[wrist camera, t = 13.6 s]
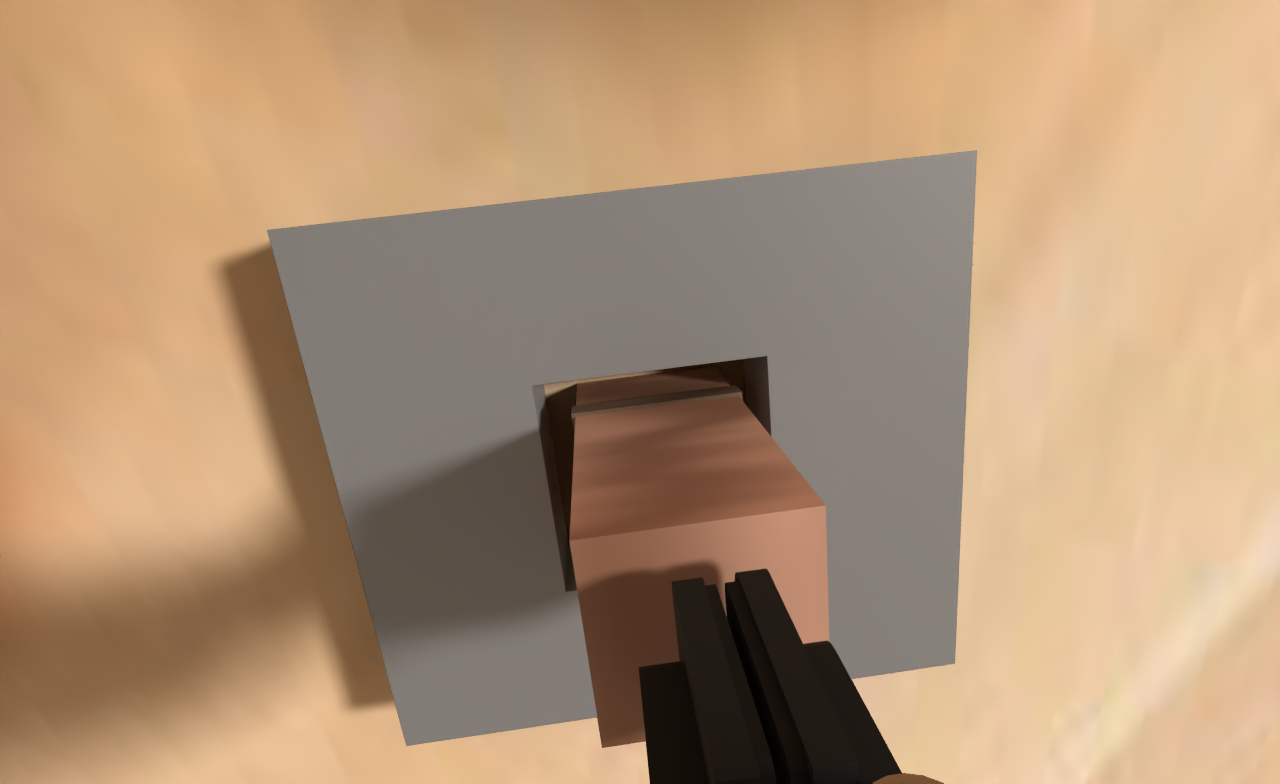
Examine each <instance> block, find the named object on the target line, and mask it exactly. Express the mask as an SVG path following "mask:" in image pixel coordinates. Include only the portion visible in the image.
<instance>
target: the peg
mask: <svg viewBox="0 0 1280 784" xmlns="http://www.w3.org/2000/svg"><path fill="white" fill-rule="evenodd" d="M571 415H572V422H573V429H574V435H575V437H574V458H573V478H572V498H571V518H570V539H569V541H570V548H571V554H572V560H573V567H574V573H575V579H576V586H577V592H578V598H579V605H580V611H581V617H582V624H583V630H584V636H585V643H586V649H587V655H588V662H589V668H590V674H591V680H592V687H593V693H594V699H595V706H596V712H597V718H598V725H599V731H600V737H601V744H602V748H605V747H611V746H618V745H624V744H631V743H637V742H644V741H646V737H645V727H644V717H643V707H642V697H641V687H640V677H639V667H643V666H650V665H657V664H664V663H671V662H678V661H680V659H679V650H678V641H677V631H676V622H675V613H674V603H673V594H672V581H677V580H685V579H692V578H699V577H702V578H703V580H704V583H705V585H712V584H716V586H717V589H718V592H719V595H720V598H721V601H722V604H723V607H724V610H725V613H726V601H725V583H726V582H734V581H735V573H736V572H743V571H751V570H758V569H765V568H766V569H767V570H768V571H769V573H770V575H771V577H772V579H773V581H774V583H775V586H776V588H777V590H778V592H779V594H780V596H781V598H782V600H783V602H784V605H785V607H786V609H787V611H788V613H789V615H790V617H791V619H792V621H793V624H794V626H795V628H796V630H797V632H798V634H799V636H800V638H801V640H802V643H803V644H806V643H813V642H820V641H829V609H828V570H827V531H826V505H825V504H824V503H823V501H822V500H821V499H820V498H819V496H818V495H817V494H816V492H815V491H814V490H813V489H812V487H811V486H810V485H809V484H808V482H807V481H806V480H805V479H804V477H803V476H802V475H801V474H800V472H799V471H798V470H797V469H796V467H795V466H794V465H793V464H792V462H791V461H790V460H789V458H788V457H787V456H786V455H785V453H784V452H783V451H782V450H781V448H780V447H779V446H778V445H777V443H776V442H775V441H774V440H773V438H772V437H771V436H770V435H769V433H768V432H767V431H766V430H765V428H764V427H763V426H762V425H761V423H760V422H759V421H758V419H757V418H756V417H755V416H754V414H753V413H752V412H751V411H750V409H749V408H748V407H747V406H746V404H745V403H744V402H743V398H742V391H741V390H740V389H739V388H738V386H737V385H733V386H730V384H729V383H728V382H727V380H726V379H725V378H724V377H723V375H722V374H721V373H720V372H719V370H718V369H717V368H716V367H715V366H712V367H704V368H697V369H689V370H681V371H673V372H665V373H657V374H649V375H641V376H633V377H625V378H617V379H610V380H602V381H594V382H586V383H578V384H577V397H576V406H572V411H571ZM726 616H727V614H726Z"/></svg>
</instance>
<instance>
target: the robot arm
mask: <svg viewBox="0 0 1280 784" xmlns="http://www.w3.org/2000/svg"><path fill="white" fill-rule="evenodd" d="M672 594H673V603H674V613H675V622H676V631H677V641H678V650H679V659H680V661H678V662H671V663H664V664H657V665H650V666H643V667H639V677H640V687H641V697H642V707H643V717H644V727H645V737H646V747H647V757H648V767H649V777H650V784H944V783H942V782H939V781H937V780H934V779H931V778H929V777H926V776H923V775H915V774H907V773H902V772H901V770H900V769H899V767H898V765H897V763H896V761H895V759H894V757H893V756H892V754H891V752H890V750H889V748H888V746H887V744H886V743H885V741H884V739H883V737H882V735H881V733H880V732H879V730H878V728H877V726H876V724H875V722H874V720H873V719H872V717H871V715H870V713H869V711H868V709H867V707H866V706H865V704H864V702H863V700H862V698H861V696H860V694H859V693H858V691H857V689H856V687H855V685H854V683H853V681H852V680H851V678H850V676H849V674H848V672H847V670H846V668H845V667H844V665H843V663H842V661H841V659H840V657H839V655H838V654H837V652H836V650H835V648H834V647H833V645H832V644H831V643H830V642H829V641H820V642H813V643H806V644H803V643H802V640H801V638H800V636H799V634H798V632H797V630H796V628H795V626H794V624H793V621H792V619H791V617H790V615H789V613H788V611H787V609H786V607H785V605H784V602H783V600H782V598H781V596H780V594H779V592H778V590H777V588H776V586H775V583H774V581H773V579H772V577H771V575H770V573H769V571H768V570H767V569H766V568H765V569H758V570H751V571H743V572H736V573H735V581H734V582H726V583H725V601H726V613H725V610H724V607H723V604H722V601H721V598H720V595H719V592H718V589H717V586H716V584H712V585H705V583H704V580H703V578H702V577H699V578H692V579H685V580H677V581H672ZM726 614H727V616H726Z"/></svg>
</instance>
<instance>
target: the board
mask: <svg viewBox="0 0 1280 784" xmlns="http://www.w3.org/2000/svg"><path fill="white" fill-rule="evenodd" d="M976 161H977V150H976V151H967V152H958V153H949V154H940V155H931V156H922V157H914V158H905V159H896V160H887V161H878V162H869V163H860V164H851V165H842V166H833V167H824V168H816V169H807V170H798V171H789V172H780V173H771V174H762V175H753V176H744V177H735V178H726V179H718V180H709V181H700V182H691V183H682V184H673V185H664V186H655V187H646V188H637V189H628V190H620V191H611V192H602V193H593V194H584V195H575V196H566V197H557V198H548V199H539V200H530V201H522V202H513V203H504V204H495V205H486V206H477V207H468V208H459V209H450V210H441V211H432V212H424V213H415V214H406V215H397V216H388V217H379V218H370V219H361V220H352V221H343V222H334V223H326V224H317V225H308V226H299V227H290V228H281V229H272V230H267V232H268V236H269V239H270V243H271V247H272V250H273V254H274V258H275V261H276V265H277V269H278V273H279V276H280V280H281V284H282V287H283V291H284V295H285V298H286V302H287V306H288V310H289V313H290V317H291V321H292V324H293V328H294V332H295V335H296V339H297V343H298V347H299V350H300V354H301V358H302V361H303V365H304V369H305V372H306V376H307V380H308V384H309V387H310V391H311V395H312V398H313V402H314V406H315V409H316V413H317V417H318V421H319V424H320V428H321V432H322V435H323V439H324V443H325V446H326V450H327V454H328V458H329V461H330V465H331V469H332V472H333V476H334V480H335V483H336V487H337V491H338V495H339V498H340V502H341V506H342V509H343V513H344V517H345V520H346V524H347V528H348V532H349V535H350V539H351V543H352V546H353V550H354V554H355V557H356V561H357V565H358V569H359V572H360V576H361V580H362V583H363V587H364V591H365V594H366V598H367V602H368V606H369V609H370V613H371V617H372V620H373V624H374V628H375V632H376V635H377V639H378V643H379V646H380V650H381V654H382V657H383V661H384V665H385V669H386V672H387V676H388V680H389V683H390V687H391V691H392V694H393V698H394V702H395V706H396V709H397V713H398V717H399V720H400V724H401V728H402V731H403V735H404V739H405V743H406V746H410V745H416V744H423V743H430V742H436V741H443V740H450V739H456V738H463V737H470V736H476V735H483V734H489V733H496V732H503V731H509V730H516V729H523V728H529V727H536V726H543V725H549V724H556V723H563V722H569V721H576V720H583V719H589V718H596V717H597V712H596V706H595V699H594V693H593V687H592V680H591V674H590V668H589V662H588V655H587V649H586V643H585V636H584V630H583V624H582V617H581V611H580V605H579V598H578V592H577V586H576V579H575V573H574V567H573V560H572V554H571V548H570V541H568V536H567V530H566V524H565V517H564V511H563V505H562V498H561V492H560V486H559V479H558V473H557V467H556V461H555V454H554V448H553V442H552V435H551V429H550V423H549V416H548V410H547V404H546V397H545V391H544V385H543V384H548V383H556V382H564V381H572V380H580V379H588V378H596V377H604V376H612V375H619V374H627V373H635V372H643V371H651V370H659V369H667V368H675V367H683V366H691V365H699V364H707V363H715V362H723V361H731V360H739V359H744V375H745V391H746V406H747V407H748V408H749V409H750V411H751V412H752V413H753V414H754V416H755V417H756V418H757V419H758V421H759V422H760V423H761V425H762V426H763V427H764V428H765V430H766V431H767V432H768V433H769V435H770V436H771V437H772V438H773V440H774V441H775V442H776V443H777V445H778V446H779V447H780V448H781V450H782V451H783V452H784V453H785V455H786V456H787V457H788V458H789V460H790V461H791V462H792V464H793V465H794V466H795V467H796V469H797V470H798V471H799V472H800V474H801V475H802V476H803V477H804V479H805V480H806V481H807V482H808V484H809V485H810V486H811V487H812V489H813V490H814V491H815V492H816V494H817V495H818V496H819V498H820V499H821V500H822V501H823V503H824V504H825V505H826V531H827V570H828V609H829V642H830V643H831V644H832V645H833V647H834V648H835V650H836V652H837V654H838V655H839V657H840V659H841V661H842V663H843V665H844V667H845V668H846V670H847V672H848V674H849V676H850V678H851V679H855V678H862V677H868V676H875V675H882V674H888V673H895V672H902V671H908V670H915V669H922V668H928V667H935V666H942V665H948V664H955V649H956V625H957V602H958V579H959V556H960V533H961V509H962V486H963V463H964V440H965V416H966V393H967V370H968V347H969V324H970V300H971V277H972V254H973V231H974V207H975V184H976Z"/></svg>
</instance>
